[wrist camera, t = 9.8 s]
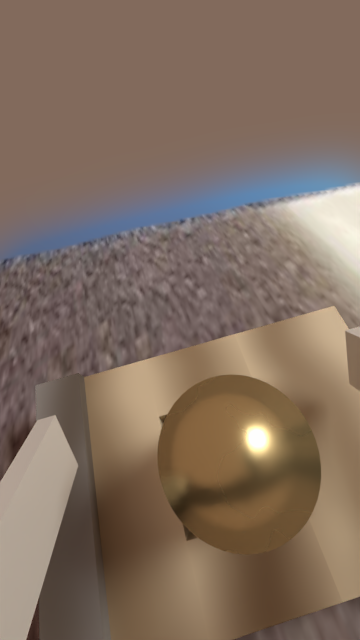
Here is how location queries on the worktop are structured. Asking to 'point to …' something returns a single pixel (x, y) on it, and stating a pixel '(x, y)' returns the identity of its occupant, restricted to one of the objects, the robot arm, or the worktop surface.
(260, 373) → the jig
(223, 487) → the brass cylinder
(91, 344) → the worktop surface
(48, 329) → the worktop surface
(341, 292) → the worktop surface
